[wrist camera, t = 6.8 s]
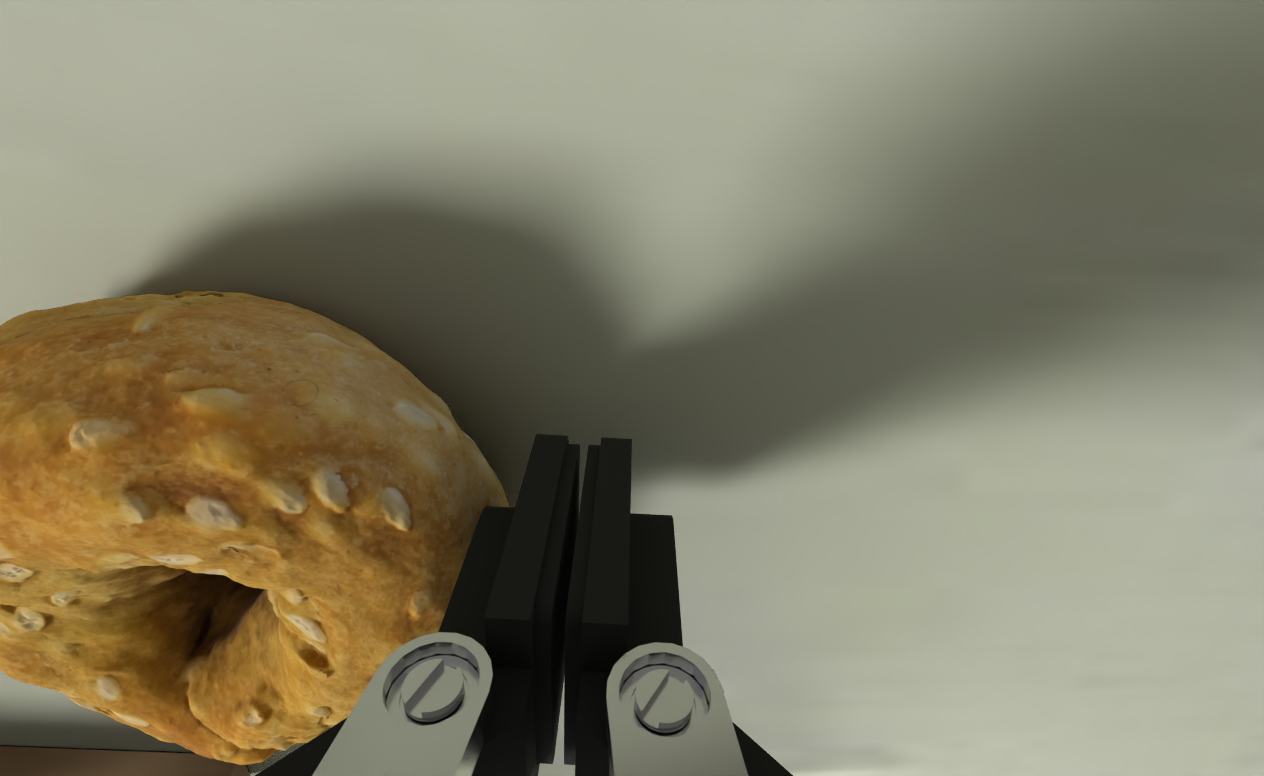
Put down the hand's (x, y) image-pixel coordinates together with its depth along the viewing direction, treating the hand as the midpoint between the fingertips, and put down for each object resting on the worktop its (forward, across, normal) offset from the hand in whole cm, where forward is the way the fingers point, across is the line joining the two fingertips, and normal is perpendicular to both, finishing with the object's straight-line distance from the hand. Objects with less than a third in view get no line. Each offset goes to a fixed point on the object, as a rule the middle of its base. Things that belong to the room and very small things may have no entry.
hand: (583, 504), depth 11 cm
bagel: (+2, +7, +2) cm, 7 cm away
